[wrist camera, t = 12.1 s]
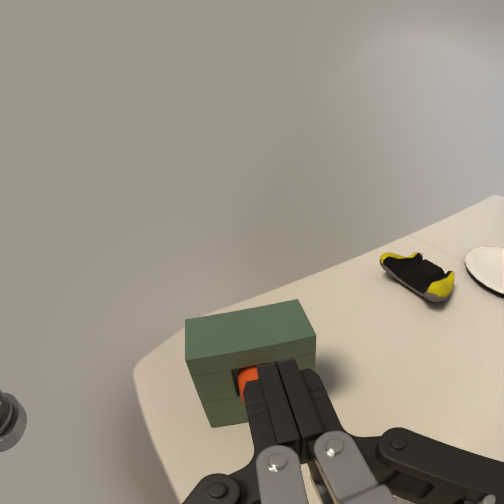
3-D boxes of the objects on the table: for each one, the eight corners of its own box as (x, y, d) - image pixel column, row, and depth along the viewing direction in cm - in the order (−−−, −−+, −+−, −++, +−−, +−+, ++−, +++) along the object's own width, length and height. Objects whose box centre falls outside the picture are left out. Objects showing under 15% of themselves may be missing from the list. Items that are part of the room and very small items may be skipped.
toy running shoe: (430, 319, 42) (462, 297, 45) (437, 291, 40) (469, 271, 43) (372, 278, 55) (407, 263, 58) (375, 252, 53) (410, 239, 56)
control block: (312, 407, 33) (316, 334, 27) (211, 427, 31) (185, 359, 26) (299, 372, 38) (297, 298, 33) (207, 390, 37) (185, 319, 31)
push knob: (280, 402, 28) (278, 380, 26) (243, 409, 27) (238, 388, 26) (273, 381, 30) (271, 358, 29) (239, 387, 30) (234, 365, 28)
